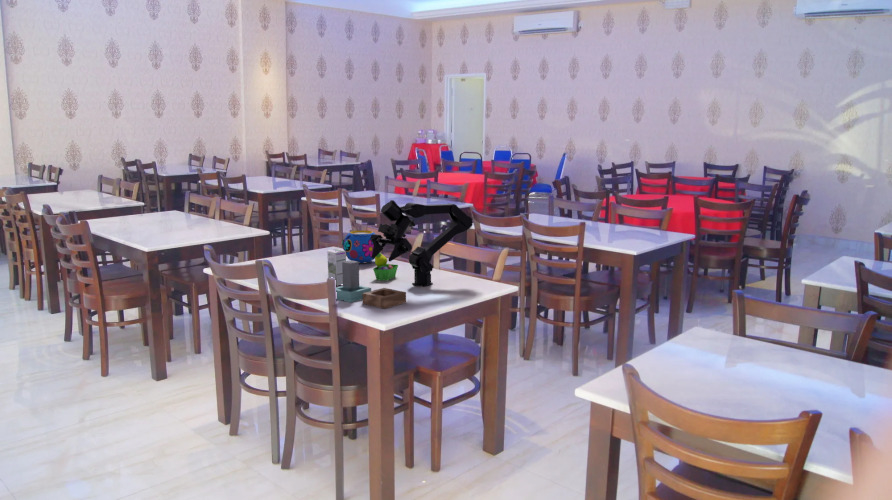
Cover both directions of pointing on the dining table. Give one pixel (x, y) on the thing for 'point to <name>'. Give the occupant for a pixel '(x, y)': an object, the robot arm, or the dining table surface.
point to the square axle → (350, 275)
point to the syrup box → (336, 264)
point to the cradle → (351, 294)
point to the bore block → (384, 298)
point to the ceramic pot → (358, 246)
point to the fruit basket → (384, 268)
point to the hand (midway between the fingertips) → (380, 259)
